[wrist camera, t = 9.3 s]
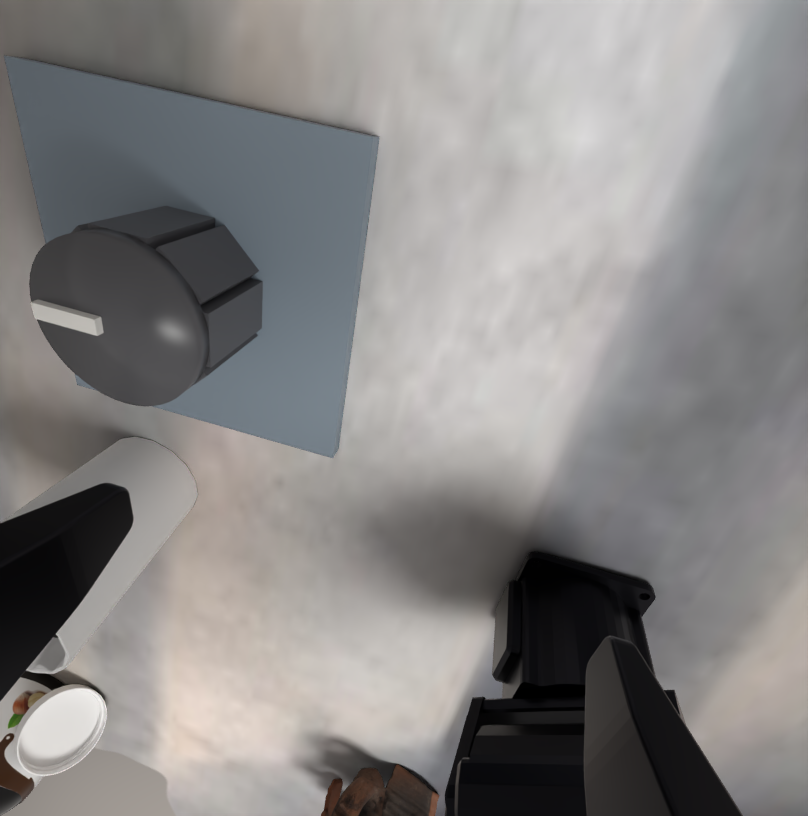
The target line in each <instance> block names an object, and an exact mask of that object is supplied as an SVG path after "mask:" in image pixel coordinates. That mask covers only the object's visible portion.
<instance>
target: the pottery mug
mask: <svg viewBox="0 0 808 816" xmlns="http://www.w3.org/2000/svg"><path fill="white" fill-rule="evenodd" d="M342 785H343V781H342V779H334V780H333V781H332V783H331V785H330V787H329V788H328V794H327V796H326V800H325V807H324V811H323V812H322V814H321V816H435V813H436V807H437V801H438V798H439V795H438V794H437V793H435V792H434V791H432V790H430V789H429V788H427V787H426V785H425V784H424V783H423V782H422V781H421V780H419V779H418V778H416V777H415V776H414V775H412V774H411V773H410V772H408V771H407V770H405V769H404V768H403V767H401V766H400V765H399V764H397V765H396V766H395V768H394V770H393V773H392V777H391V778H390V779H389V781H388V784H387V786H386V788H385V787H384V783H383V779H382V776H381V775H380V773H379V772H378V770H377V769H376V768H362V769H361V770H360V771H359V772H358V774H357V776H356V777H355V778H354V780H353V782H352V783H351V784H350V785H349V786H348V787H347V788H346V790H345V791H344V792H343V793H342V795H341V796H340V793H341V789H342ZM339 797H340V798H339Z"/></svg>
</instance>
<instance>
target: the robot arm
mask: <svg viewBox="0 0 808 816" xmlns="http://www.w3.org/2000/svg"><path fill="white" fill-rule="evenodd" d="M133 520H134V516H133V511H132V505H131V500H130V494H129V491H128V490H127V489H126V488H125V487H122V486H119V485H115V484H112V483H101V484H98V485H96V486H93V487H91V488H88V489H86V490H83V491H81V492H78V493H76V494H73V495H70V496H68V497H65V498H63V499H60V500H58V501H55V502H53V503H50V504H48V505H45V506H43V507H40V508H38V509H35V510H32V511H30V512H27V513H25V514H22V515H20V516H17V517H15V518H12V519H10V520H7V521H5V522H2V523H0V701H1V700H2V699H3V698H4V696H5V695H6V694H7V693H8V692H9V690H10V689H11V688H12V687H13V685H14V684H15V683H16V682H17V681H18V679H19V678H20V677H21V676H22V675H23V673H24V672H25V671H26V670H27V668H28V667H29V666H30V665H31V664H32V662H33V661H34V660H35V659H36V657H37V656H38V655H39V654H40V653H41V651H42V650H43V649H44V648H45V646H46V645H47V644H48V643H49V642H50V640H51V639H52V638H53V637H54V635H55V634H56V633H57V632H58V631H59V629H60V628H61V627H62V626H63V625H64V623H65V622H66V621H67V620H68V618H69V617H70V616H71V615H72V613H73V612H74V611H75V610H76V608H77V607H78V606H79V605H80V603H81V602H82V601H83V599H84V598H85V596H86V595H87V594H88V592H89V591H90V589H91V588H92V586H93V585H94V583H95V582H96V580H97V579H98V577H99V576H100V574H101V573H102V571H103V570H104V569H105V567H106V566H107V564H108V563H109V561H110V560H111V558H112V557H113V555H114V554H115V552H116V551H117V549H118V548H119V546H120V545H121V543H122V542H123V540H124V539H125V537H126V536H127V534H128V533H129V531H130V529H131V527H132V525H133ZM534 561H538V562H534ZM642 593H644V594H642ZM654 600H655V593H654V590H653V587H652V586H651V585H648V584H646V583H642V582H639V581H636V580H632V579H629V578H625V577H622V576H619V575H615V574H612V573H608V572H605V571H602V570H598V569H595V568H591V567H588V566H584V565H581V564H578V563H574V562H571V561H567V560H564V559H561V558H557V557H554V556H550V555H547V554H544V553H540V552H531V553H529V554H528V555H527V557H526V559H525V561H524V563H523V565H522V567H521V569H520V571H519V573H518V575H517V578H516V580H511V581H510V582H508V584H507V586H506V588H505V591H504V593H503V595H502V597H501V599H500V601H499V604H498V606H497V608H496V618H495V635H494V651H493V667H492V675H493V677H494V678H495V680H496V681H499V682H502V683H503V691H502V699H485V697H473V698H472V701H471V705H470V708H469V712H468V715H467V718H466V721H465V725H464V728H463V732H462V735H461V739H460V742H459V746H458V749H457V753H456V756H455V760H454V763H453V767H452V770H451V774H450V778H449V781H448V785H447V788H446V792H445V804H446V808H445V816H743V815H742V813H741V812H740V810H739V809H738V807H737V805H736V804H735V802H734V801H733V799H732V797H731V796H730V794H729V793H728V791H727V790H726V788H725V786H724V785H723V783H722V782H721V780H720V779H719V777H718V775H717V774H716V772H715V771H714V769H713V767H712V766H711V764H710V763H709V761H708V760H707V758H706V756H705V755H704V753H703V752H702V750H701V748H700V747H699V745H698V744H697V742H696V741H695V739H694V737H693V736H692V734H691V733H690V731H689V729H688V728H687V726H686V723H685V720H684V717H683V714H682V712H681V709H680V706H679V703H678V700H677V697H676V694H675V691H674V690H663V688H662V687H661V685H660V684H659V682H658V680H657V679H656V676H655V672H654V668H653V664H652V659H651V655H650V651H649V647H648V642H647V638H646V634H645V630H644V625H643V621H642V616H643V614H644V613H645V612H646V610H647V609H648V608H649V606H650V605H651V604H652V602H653V601H654Z"/></svg>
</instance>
